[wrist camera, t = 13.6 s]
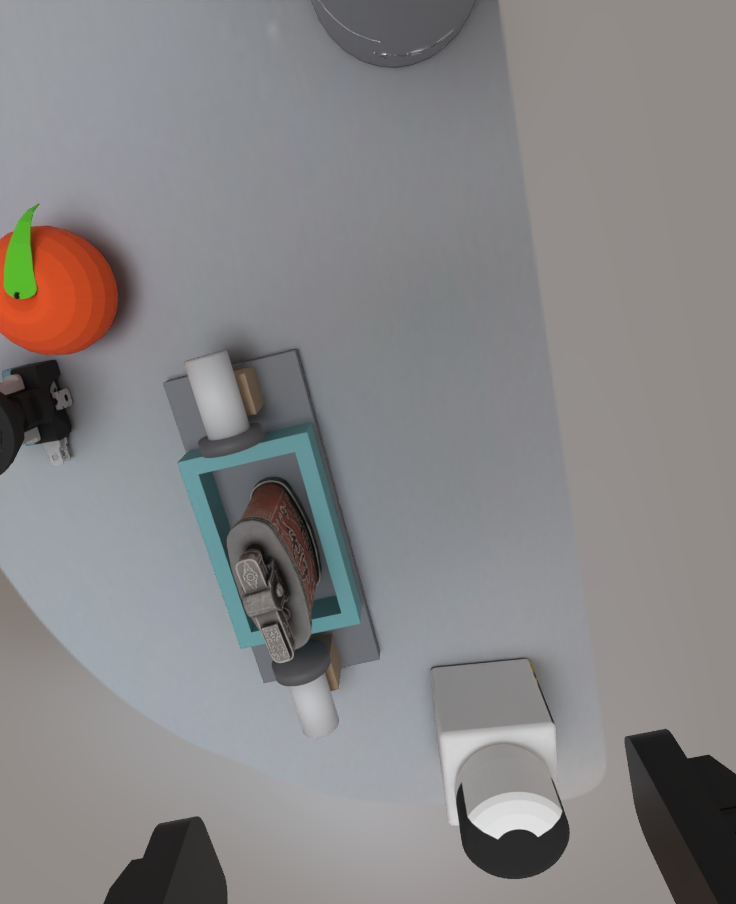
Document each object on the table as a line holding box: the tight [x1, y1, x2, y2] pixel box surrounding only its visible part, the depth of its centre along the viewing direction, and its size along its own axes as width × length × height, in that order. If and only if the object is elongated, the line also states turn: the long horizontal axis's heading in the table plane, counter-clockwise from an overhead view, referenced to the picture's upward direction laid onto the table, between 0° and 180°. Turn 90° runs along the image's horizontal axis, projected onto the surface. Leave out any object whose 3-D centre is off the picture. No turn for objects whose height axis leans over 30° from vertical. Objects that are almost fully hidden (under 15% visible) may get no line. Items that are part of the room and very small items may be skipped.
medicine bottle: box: [430, 659, 570, 879], centre depth 41 cm, size 7×7×12 cm
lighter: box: [227, 476, 322, 663], centre depth 37 cm, size 8×3×10 cm, turn 18°
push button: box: [0, 360, 72, 475], centre depth 36 cm, size 7×5×10 cm
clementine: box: [0, 204, 118, 355], centre depth 35 cm, size 8×7×7 cm
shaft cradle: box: [163, 349, 380, 738], centre depth 39 cm, size 24×8×7 cm, turn 14°
